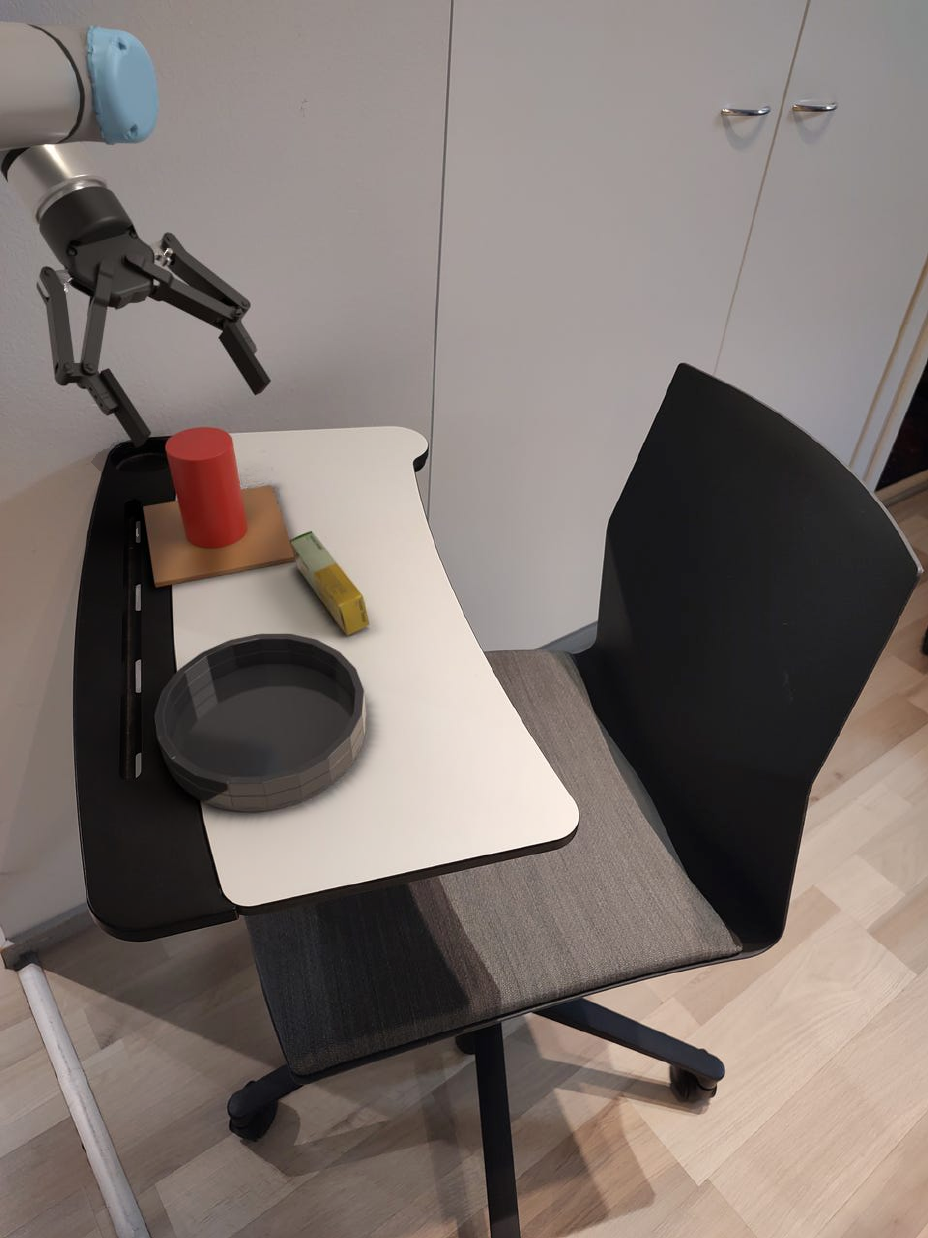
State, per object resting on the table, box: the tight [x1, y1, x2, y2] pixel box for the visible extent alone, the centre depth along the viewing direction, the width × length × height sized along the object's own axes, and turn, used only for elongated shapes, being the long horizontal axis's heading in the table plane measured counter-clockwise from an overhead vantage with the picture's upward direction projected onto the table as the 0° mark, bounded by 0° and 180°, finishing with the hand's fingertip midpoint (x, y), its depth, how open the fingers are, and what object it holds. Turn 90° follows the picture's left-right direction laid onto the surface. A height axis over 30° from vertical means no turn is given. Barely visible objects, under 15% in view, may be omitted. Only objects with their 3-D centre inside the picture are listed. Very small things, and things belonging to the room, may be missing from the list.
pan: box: [154, 633, 367, 813], centre depth 72 cm, size 16×16×4 cm
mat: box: [142, 484, 296, 588], centre depth 94 cm, size 14×14×1 cm
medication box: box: [290, 530, 371, 636], centre depth 85 cm, size 12×3×4 cm, turn 31°
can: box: [165, 426, 247, 548], centre depth 90 cm, size 6×6×10 cm
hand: (206, 413), depth 83 cm, fingers open, 13 cm apart
